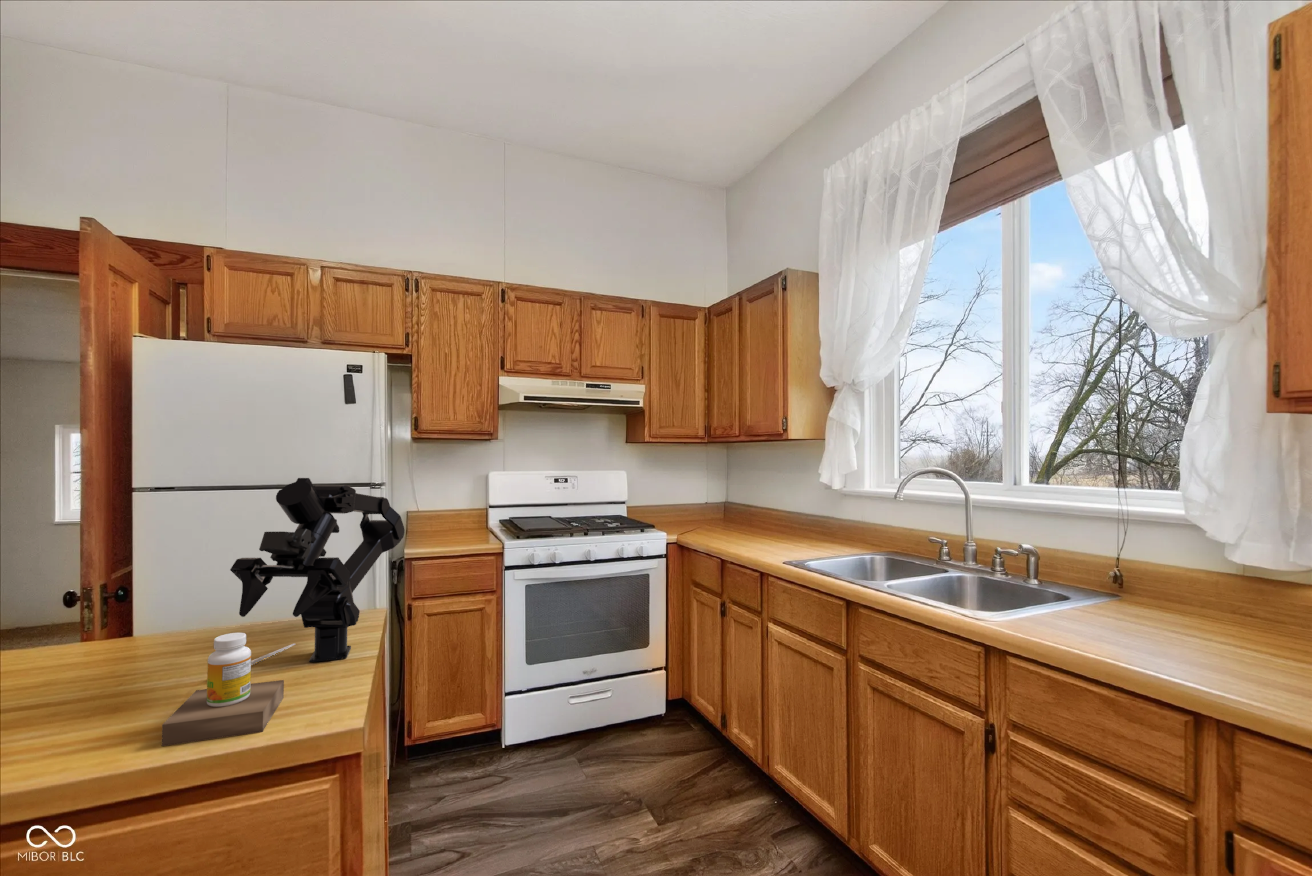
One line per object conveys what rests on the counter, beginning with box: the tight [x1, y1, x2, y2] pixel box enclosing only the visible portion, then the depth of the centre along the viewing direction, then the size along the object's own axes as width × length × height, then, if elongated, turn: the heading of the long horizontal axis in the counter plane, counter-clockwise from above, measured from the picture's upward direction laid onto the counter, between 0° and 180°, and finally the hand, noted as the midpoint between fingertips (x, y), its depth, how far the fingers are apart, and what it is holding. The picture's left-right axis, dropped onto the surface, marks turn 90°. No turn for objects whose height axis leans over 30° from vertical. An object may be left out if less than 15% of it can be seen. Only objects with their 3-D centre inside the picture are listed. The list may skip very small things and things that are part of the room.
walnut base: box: [161, 679, 285, 747], centre depth 87 cm, size 12×12×3 cm
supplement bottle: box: [206, 632, 252, 707], centre depth 87 cm, size 5×5×10 cm
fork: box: [251, 643, 296, 666], centre depth 110 cm, size 3×20×2 cm, turn 176°
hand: (268, 615), depth 95 cm, fingers open, 9 cm apart
